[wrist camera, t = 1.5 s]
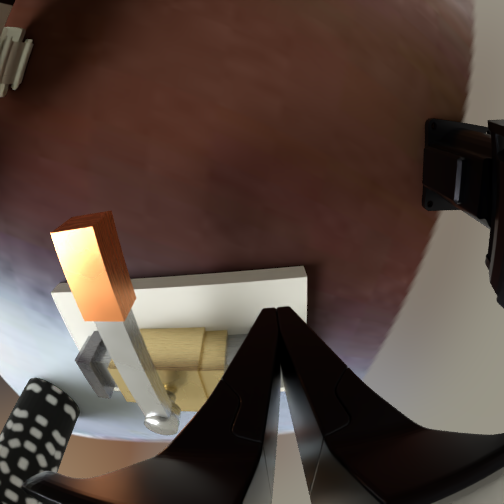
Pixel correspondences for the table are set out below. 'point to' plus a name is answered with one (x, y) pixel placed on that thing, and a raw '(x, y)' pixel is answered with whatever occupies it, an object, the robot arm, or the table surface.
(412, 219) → the table surface
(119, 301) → the valve lever
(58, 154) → the table surface
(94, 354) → the valve pipe run
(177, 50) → the table surface
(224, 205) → the table surface
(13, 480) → the spotted tube
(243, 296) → the base plate
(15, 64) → the pneumatic valve
